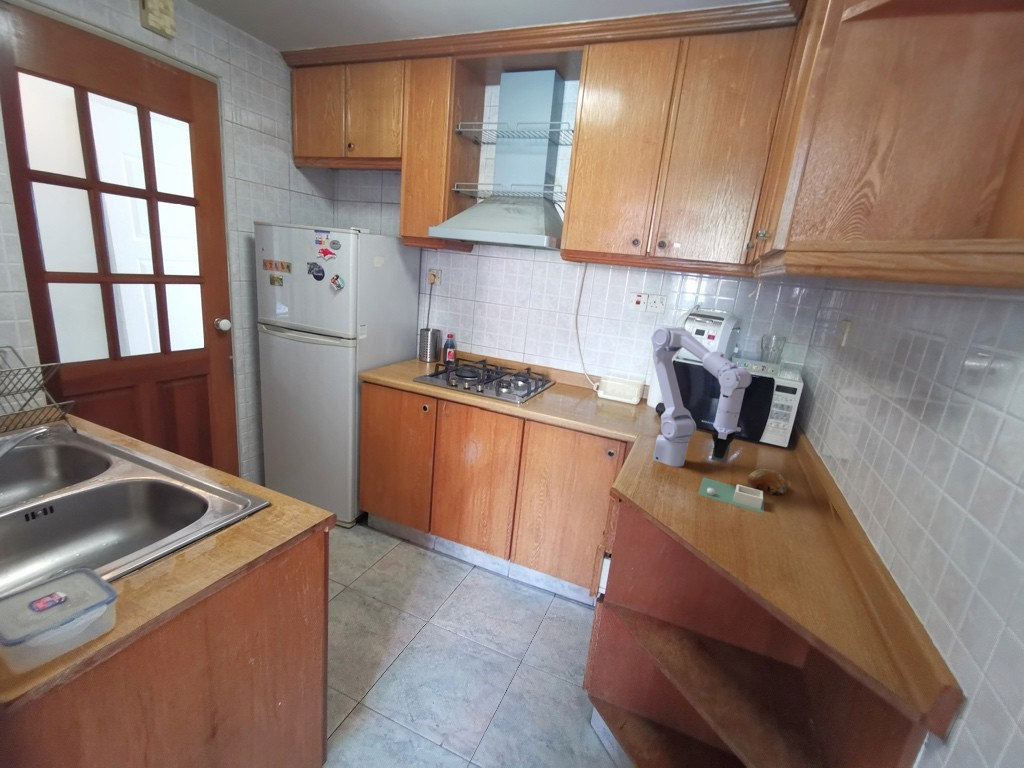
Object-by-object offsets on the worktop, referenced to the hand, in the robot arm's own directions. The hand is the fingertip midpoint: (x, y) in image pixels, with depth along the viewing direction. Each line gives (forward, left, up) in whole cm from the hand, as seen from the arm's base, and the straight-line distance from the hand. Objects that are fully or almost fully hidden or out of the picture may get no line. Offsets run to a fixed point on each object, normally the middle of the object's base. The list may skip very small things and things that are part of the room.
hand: (718, 455), depth 128 cm
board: (+5, -5, -9) cm, 12 cm away
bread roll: (+14, +8, -10) cm, 19 cm away
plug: (0, 0, -1) cm, 1 cm away
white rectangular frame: (+9, -7, -8) cm, 14 cm away
